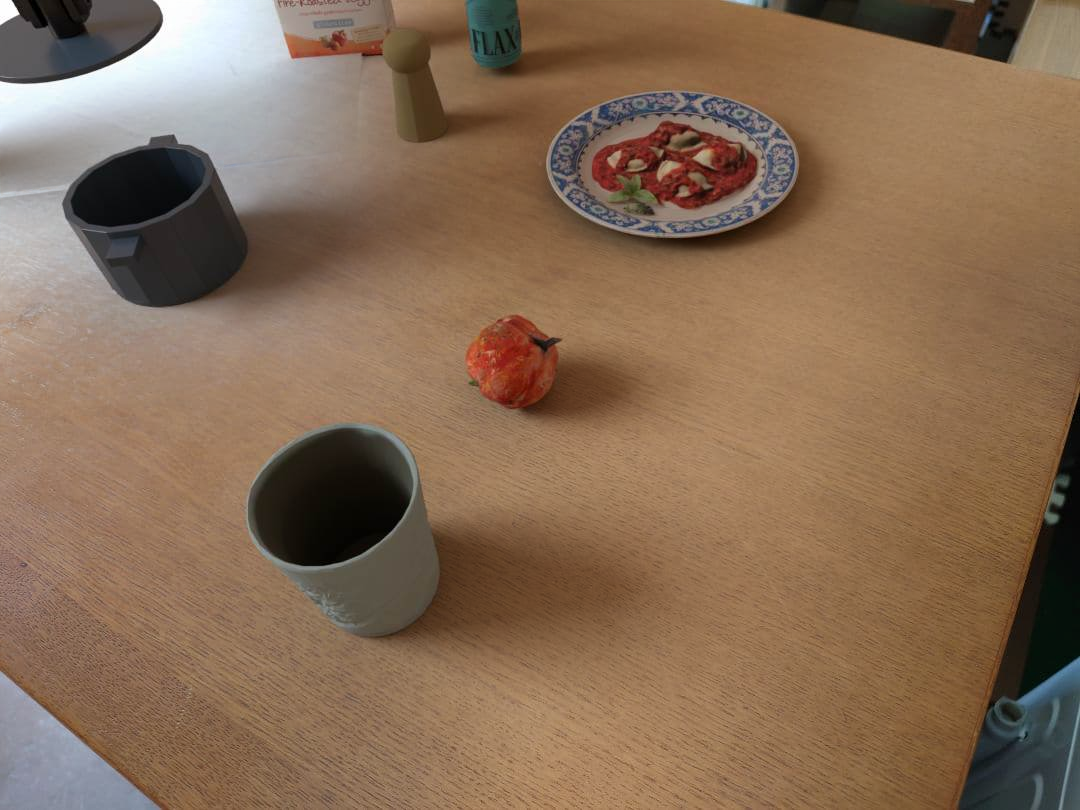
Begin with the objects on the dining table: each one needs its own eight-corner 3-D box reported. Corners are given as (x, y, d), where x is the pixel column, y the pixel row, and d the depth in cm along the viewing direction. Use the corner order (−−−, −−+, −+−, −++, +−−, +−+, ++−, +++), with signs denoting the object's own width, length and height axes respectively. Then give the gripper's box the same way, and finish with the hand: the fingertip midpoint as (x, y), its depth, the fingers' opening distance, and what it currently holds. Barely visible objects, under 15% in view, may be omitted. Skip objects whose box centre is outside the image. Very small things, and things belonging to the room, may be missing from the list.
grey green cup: (458, 519, 57) (428, 420, 48) (442, 654, 51) (404, 569, 42) (324, 520, 58) (269, 422, 49) (291, 652, 52) (222, 569, 42)
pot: (89, 335, 73) (34, 261, 66) (134, 211, 85) (91, 137, 78) (234, 316, 73) (195, 240, 66) (258, 195, 85) (227, 120, 78)
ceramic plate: (676, 84, 93) (678, 59, 91) (849, 179, 79) (856, 153, 77) (500, 169, 85) (497, 144, 82) (659, 292, 71) (661, 267, 69)
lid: (-44, 102, 60) (-97, 27, 55) (15, 16, 69) (-26, -54, 64) (147, 77, 60) (110, 1, 55) (180, -5, 69) (151, -76, 65)
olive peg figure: (411, 110, 94) (391, 18, 85) (456, 117, 92) (441, 24, 83) (387, 137, 90) (364, 44, 82) (434, 145, 89) (415, 51, 80)
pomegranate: (477, 440, 64) (566, 412, 58) (420, 377, 62) (507, 340, 55) (512, 382, 69) (597, 350, 63) (460, 321, 66) (544, 281, 60)
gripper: (41, -279, 52) (158, -9, 65) (-169, -254, 52) (-8, 11, 65) (6, -253, 47) (140, 32, 61) (-226, -225, 47) (-40, 55, 60)
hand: (62, 20), depth 63 cm, fingers closed on lid, 2 cm apart
